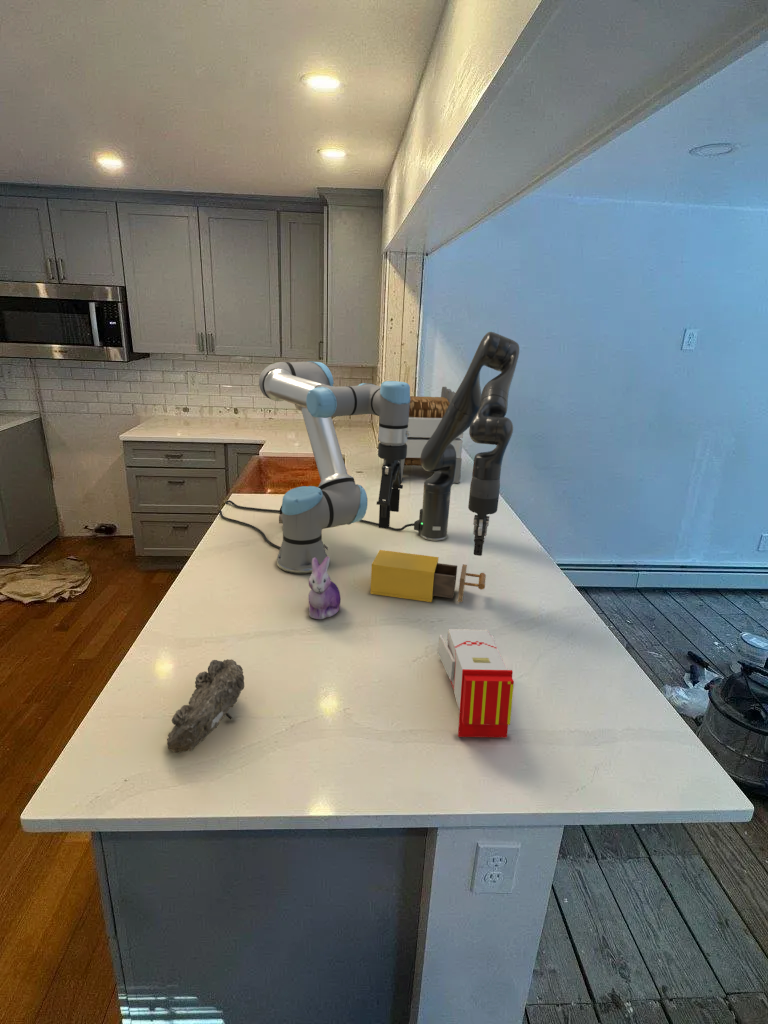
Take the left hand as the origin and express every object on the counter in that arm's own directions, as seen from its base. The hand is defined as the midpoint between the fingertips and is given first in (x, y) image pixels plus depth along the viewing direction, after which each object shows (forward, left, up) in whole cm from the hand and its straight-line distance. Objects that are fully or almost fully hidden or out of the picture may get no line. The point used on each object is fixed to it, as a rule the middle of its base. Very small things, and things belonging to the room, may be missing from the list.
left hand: (389, 519), depth 154 cm
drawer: (+16, +4, -20) cm, 26 cm away
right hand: (+24, +6, -7) cm, 26 cm away
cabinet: (+5, +1, -21) cm, 21 cm away
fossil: (-6, -65, -21) cm, 68 cm away
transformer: (-37, +116, -21) cm, 123 cm away
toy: (+36, -34, -21) cm, 53 cm away
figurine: (-8, -21, -21) cm, 30 cm away
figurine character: (-52, +28, -21) cm, 62 cm away
